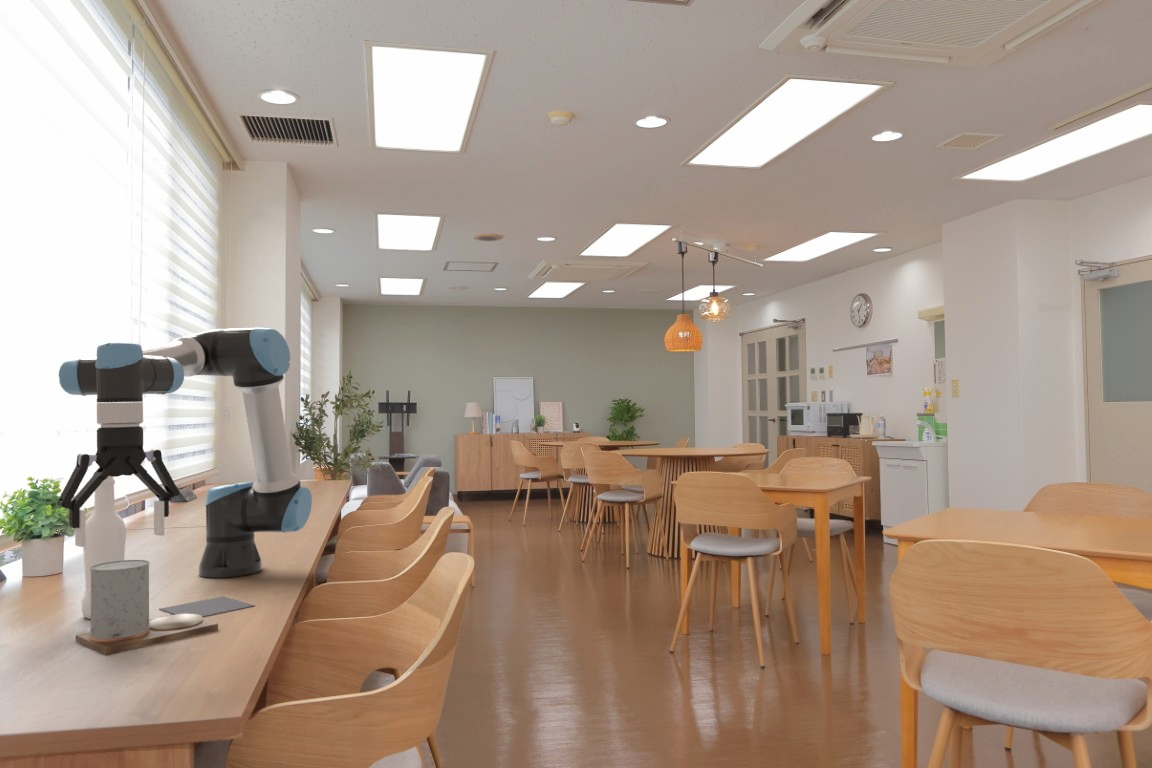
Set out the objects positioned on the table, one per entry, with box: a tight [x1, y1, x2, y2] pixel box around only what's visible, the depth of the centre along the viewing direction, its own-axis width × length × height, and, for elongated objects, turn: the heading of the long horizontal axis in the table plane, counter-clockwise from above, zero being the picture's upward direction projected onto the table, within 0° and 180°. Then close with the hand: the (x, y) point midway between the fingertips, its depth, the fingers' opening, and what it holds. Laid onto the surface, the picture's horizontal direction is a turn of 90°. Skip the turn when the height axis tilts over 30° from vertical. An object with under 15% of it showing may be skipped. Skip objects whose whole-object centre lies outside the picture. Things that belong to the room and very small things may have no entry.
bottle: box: [81, 476, 127, 620], centre depth 168 cm, size 8×8×30 cm
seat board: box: [75, 613, 219, 656], centre depth 152 cm, size 20×14×2 cm
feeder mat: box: [159, 596, 256, 618], centre depth 173 cm, size 14×14×1 cm
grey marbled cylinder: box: [90, 559, 151, 639], centre depth 148 cm, size 10×10×12 cm
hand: (121, 540), depth 149 cm, fingers open, 13 cm apart
